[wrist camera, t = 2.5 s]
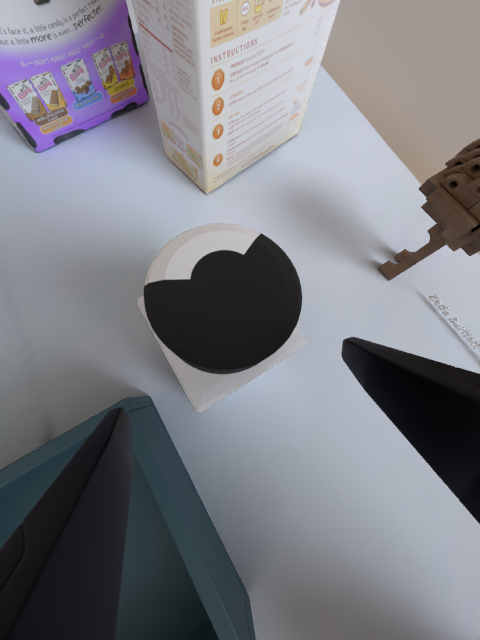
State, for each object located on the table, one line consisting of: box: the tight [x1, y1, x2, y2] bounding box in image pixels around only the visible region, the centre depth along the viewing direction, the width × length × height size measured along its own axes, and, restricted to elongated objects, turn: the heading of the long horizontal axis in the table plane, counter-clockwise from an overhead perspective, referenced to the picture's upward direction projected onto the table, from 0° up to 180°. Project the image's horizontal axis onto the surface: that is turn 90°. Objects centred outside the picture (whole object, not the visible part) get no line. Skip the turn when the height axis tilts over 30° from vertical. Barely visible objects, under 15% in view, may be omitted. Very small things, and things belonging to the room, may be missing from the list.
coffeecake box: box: [132, 0, 340, 194], centre depth 17 cm, size 15×7×20 cm, turn 134°
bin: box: [0, 396, 256, 640], centre depth 12 cm, size 15×15×5 cm
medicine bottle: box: [137, 223, 306, 413], centre depth 14 cm, size 7×7×12 cm
